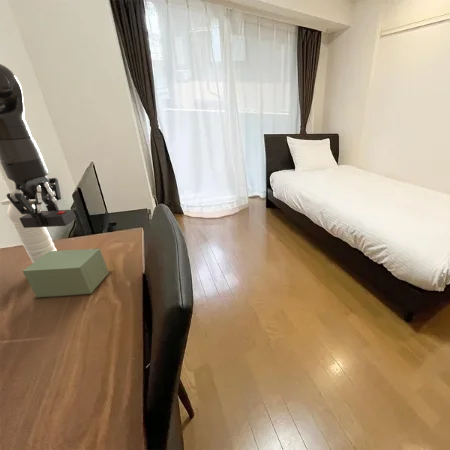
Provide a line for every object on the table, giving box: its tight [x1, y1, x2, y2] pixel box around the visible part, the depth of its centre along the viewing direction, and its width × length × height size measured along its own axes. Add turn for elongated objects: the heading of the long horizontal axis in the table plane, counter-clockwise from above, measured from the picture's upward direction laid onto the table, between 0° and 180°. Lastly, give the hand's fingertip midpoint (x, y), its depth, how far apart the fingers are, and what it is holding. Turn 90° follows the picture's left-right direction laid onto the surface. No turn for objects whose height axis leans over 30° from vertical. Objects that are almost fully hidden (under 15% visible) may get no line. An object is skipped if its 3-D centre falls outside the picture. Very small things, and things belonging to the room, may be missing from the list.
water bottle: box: [0, 198, 58, 264], centre depth 82 cm, size 9×6×25 cm
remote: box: [19, 209, 77, 228], centre depth 72 cm, size 10×4×3 cm, turn 97°
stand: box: [22, 248, 110, 298], centre depth 79 cm, size 14×10×9 cm
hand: (49, 221), depth 72 cm, fingers closed on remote, 4 cm apart
